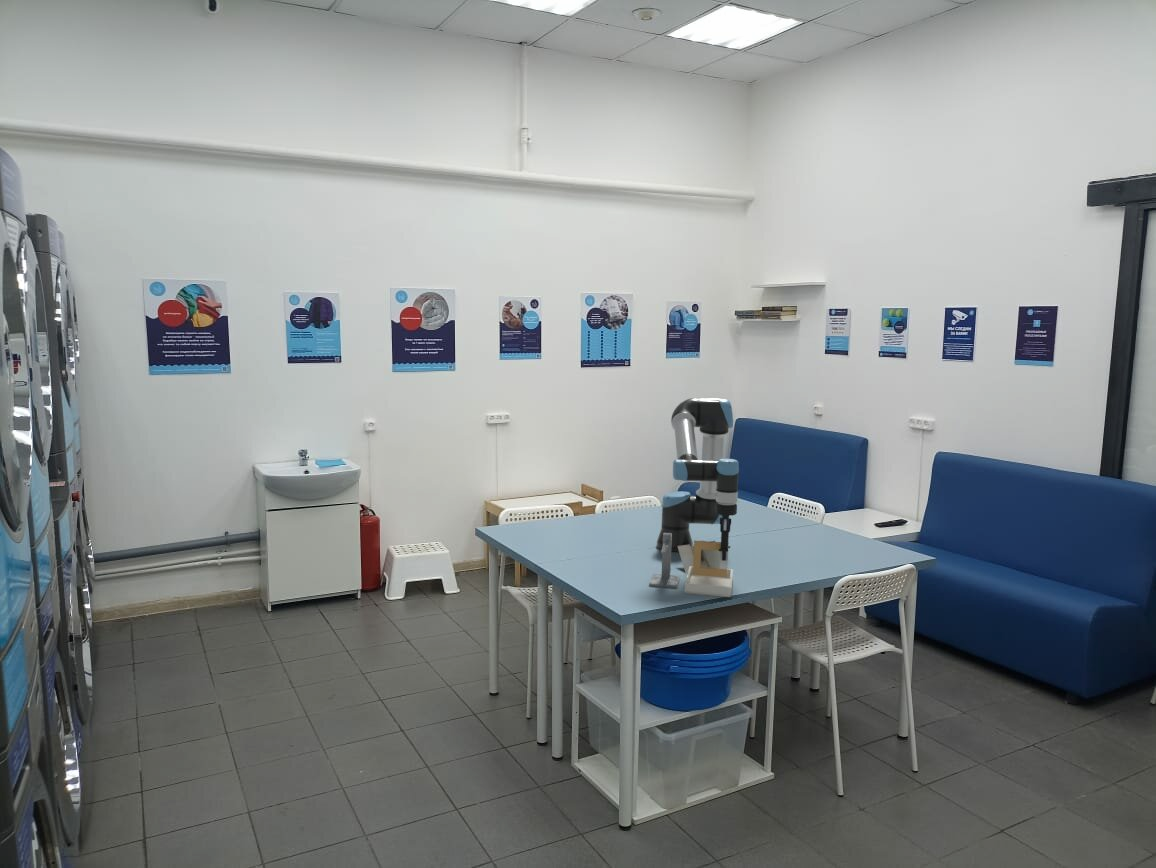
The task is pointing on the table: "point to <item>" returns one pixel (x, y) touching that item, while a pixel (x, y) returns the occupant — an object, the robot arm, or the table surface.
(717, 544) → the picture frame
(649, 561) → the table surface
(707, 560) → the grey angular piece
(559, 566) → the table surface
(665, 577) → the hook stand
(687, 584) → the tray
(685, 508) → the robot arm
